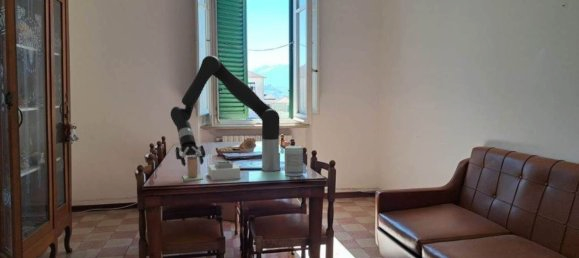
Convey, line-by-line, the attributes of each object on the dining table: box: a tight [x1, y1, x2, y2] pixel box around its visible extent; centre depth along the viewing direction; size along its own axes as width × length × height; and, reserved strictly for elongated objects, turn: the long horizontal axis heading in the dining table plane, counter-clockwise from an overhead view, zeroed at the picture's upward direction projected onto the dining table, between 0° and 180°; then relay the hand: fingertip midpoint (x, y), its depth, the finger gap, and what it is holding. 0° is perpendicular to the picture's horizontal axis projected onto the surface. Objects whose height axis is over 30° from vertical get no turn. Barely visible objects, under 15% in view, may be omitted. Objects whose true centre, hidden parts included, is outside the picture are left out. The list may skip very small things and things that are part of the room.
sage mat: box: [182, 174, 204, 182], centre depth 211 cm, size 9×9×1 cm
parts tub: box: [207, 160, 242, 181], centre depth 216 cm, size 16×13×7 cm
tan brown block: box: [186, 155, 198, 178], centre depth 210 cm, size 5×5×10 cm
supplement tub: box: [284, 145, 304, 178], centre depth 219 cm, size 10×10×15 cm
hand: (193, 164), depth 209 cm, fingers open, 8 cm apart
